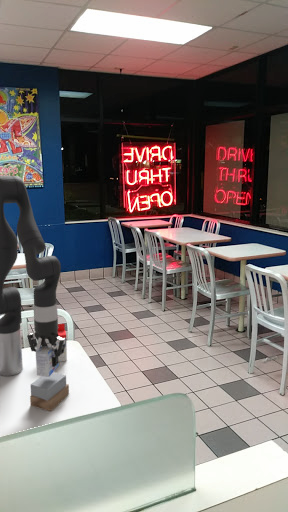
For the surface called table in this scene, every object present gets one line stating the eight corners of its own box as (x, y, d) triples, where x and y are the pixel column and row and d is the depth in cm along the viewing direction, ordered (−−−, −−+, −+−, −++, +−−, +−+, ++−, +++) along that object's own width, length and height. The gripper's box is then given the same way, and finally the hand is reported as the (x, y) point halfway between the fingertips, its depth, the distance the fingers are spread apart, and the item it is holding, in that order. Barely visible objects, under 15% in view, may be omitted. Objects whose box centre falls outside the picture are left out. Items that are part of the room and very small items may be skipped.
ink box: (45, 363, 160) (44, 329, 157) (45, 357, 165) (43, 325, 161) (67, 360, 162) (66, 327, 159) (66, 355, 167) (65, 323, 164)
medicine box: (49, 377, 129) (48, 353, 127) (36, 375, 130) (35, 351, 128) (59, 365, 136) (58, 342, 134) (47, 364, 137) (46, 341, 135)
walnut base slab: (30, 406, 132) (30, 396, 131) (49, 389, 142) (49, 379, 141) (51, 412, 129) (50, 401, 128) (68, 394, 139) (68, 384, 138)
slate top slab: (31, 395, 132) (30, 384, 131) (50, 380, 141) (49, 370, 140) (47, 400, 129) (47, 389, 128) (66, 385, 138) (66, 375, 137)
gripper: (20, 317, 128) (23, 366, 131) (59, 324, 123) (60, 373, 127) (33, 310, 134) (36, 356, 138) (71, 315, 130) (72, 363, 134)
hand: (47, 364), depth 133 cm, fingers closed on medicine box, 4 cm apart
